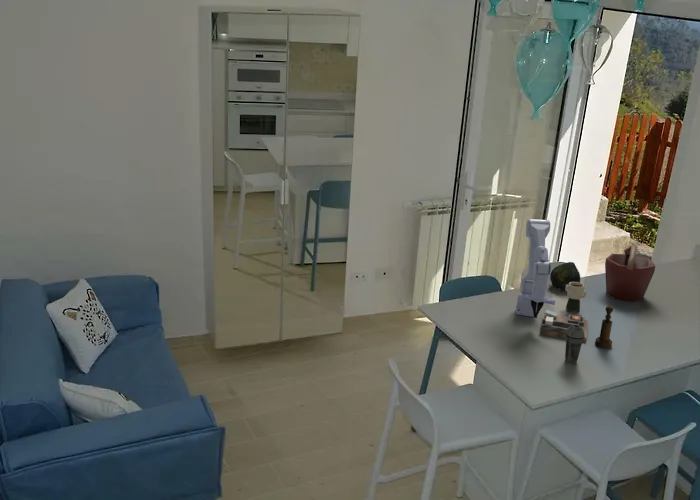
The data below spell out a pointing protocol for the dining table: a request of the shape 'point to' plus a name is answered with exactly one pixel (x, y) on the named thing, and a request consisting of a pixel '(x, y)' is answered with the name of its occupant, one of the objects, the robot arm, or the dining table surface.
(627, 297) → the bucket
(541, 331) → the panel
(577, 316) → the push button
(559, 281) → the squash
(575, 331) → the beverage cup
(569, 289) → the character mug
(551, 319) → the slider knob
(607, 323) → the brown chess piece
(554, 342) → the dining table surface
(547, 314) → the grey flat tile
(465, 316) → the dining table surface
